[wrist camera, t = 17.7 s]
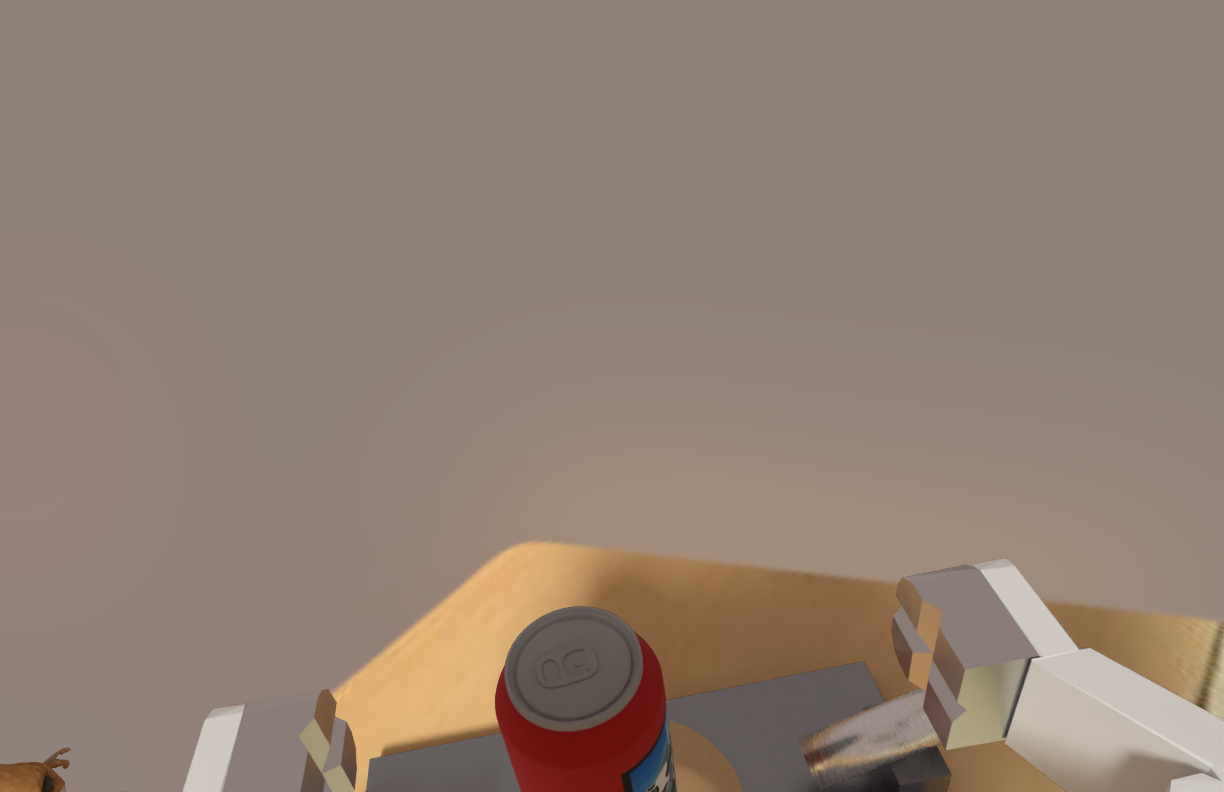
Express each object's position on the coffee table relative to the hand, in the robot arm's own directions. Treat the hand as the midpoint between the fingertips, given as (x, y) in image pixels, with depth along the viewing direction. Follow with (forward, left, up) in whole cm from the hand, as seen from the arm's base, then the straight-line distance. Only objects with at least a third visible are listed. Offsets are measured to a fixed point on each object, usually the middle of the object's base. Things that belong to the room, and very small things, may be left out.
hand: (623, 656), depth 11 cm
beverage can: (-5, -11, -28) cm, 31 cm away
